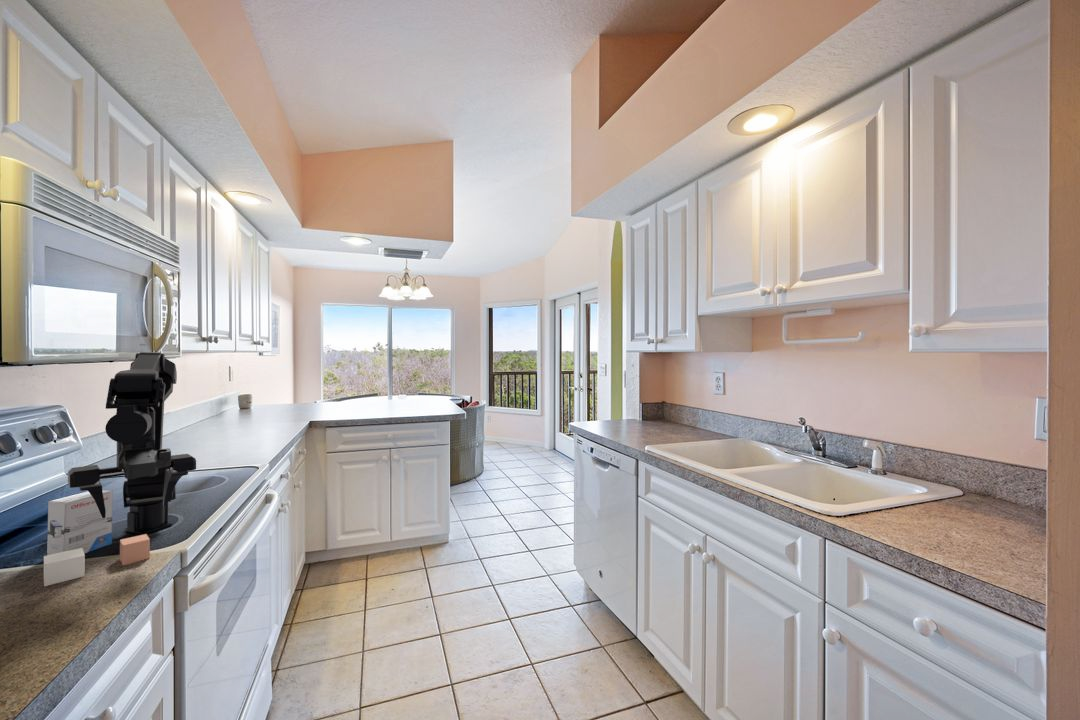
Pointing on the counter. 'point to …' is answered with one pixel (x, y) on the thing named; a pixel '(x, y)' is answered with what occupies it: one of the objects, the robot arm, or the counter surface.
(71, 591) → the counter surface
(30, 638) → the counter surface
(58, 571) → the off-white block
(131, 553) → the terracotta cube
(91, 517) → the ink box
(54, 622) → the counter surface
